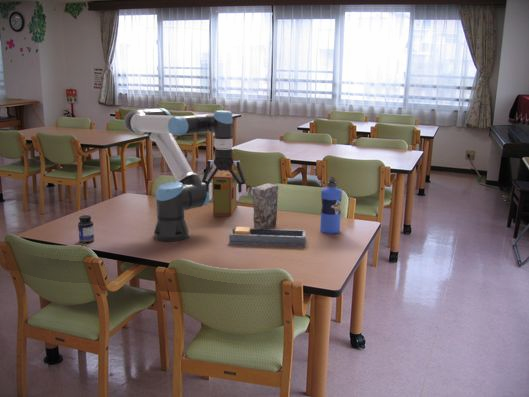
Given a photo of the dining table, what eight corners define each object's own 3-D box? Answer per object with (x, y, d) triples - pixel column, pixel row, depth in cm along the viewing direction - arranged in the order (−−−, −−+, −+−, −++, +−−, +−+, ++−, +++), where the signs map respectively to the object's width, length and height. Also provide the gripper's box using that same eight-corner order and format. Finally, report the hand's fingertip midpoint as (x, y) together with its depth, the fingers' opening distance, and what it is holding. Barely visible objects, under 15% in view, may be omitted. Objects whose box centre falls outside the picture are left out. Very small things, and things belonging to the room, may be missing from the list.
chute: (229, 244, 227) (229, 235, 226) (233, 235, 238) (233, 226, 237) (304, 247, 224) (305, 238, 223) (305, 238, 235) (305, 229, 234)
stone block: (265, 232, 243) (265, 189, 238) (251, 229, 247) (251, 187, 242) (278, 224, 255) (279, 183, 250) (265, 222, 258) (265, 182, 253)
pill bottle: (78, 240, 231) (76, 215, 228) (93, 238, 233) (91, 213, 230) (80, 244, 225) (78, 219, 223) (95, 242, 228) (93, 217, 225)
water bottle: (315, 230, 246) (317, 177, 240) (327, 226, 252) (329, 174, 246) (332, 235, 240) (334, 180, 233) (344, 230, 246) (346, 177, 240)
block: (234, 239, 229) (234, 230, 228) (236, 235, 235) (236, 226, 234) (248, 240, 229) (248, 231, 228) (250, 235, 234) (250, 227, 233)
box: (220, 207, 285) (220, 170, 280) (237, 207, 284) (237, 170, 279) (213, 215, 269) (212, 176, 264) (230, 216, 268) (230, 177, 263)
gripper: (193, 149, 220) (195, 200, 226) (250, 150, 218) (250, 202, 224) (197, 146, 228) (198, 196, 233) (252, 147, 226) (252, 198, 231)
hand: (224, 199), depth 228 cm, fingers open, 11 cm apart
